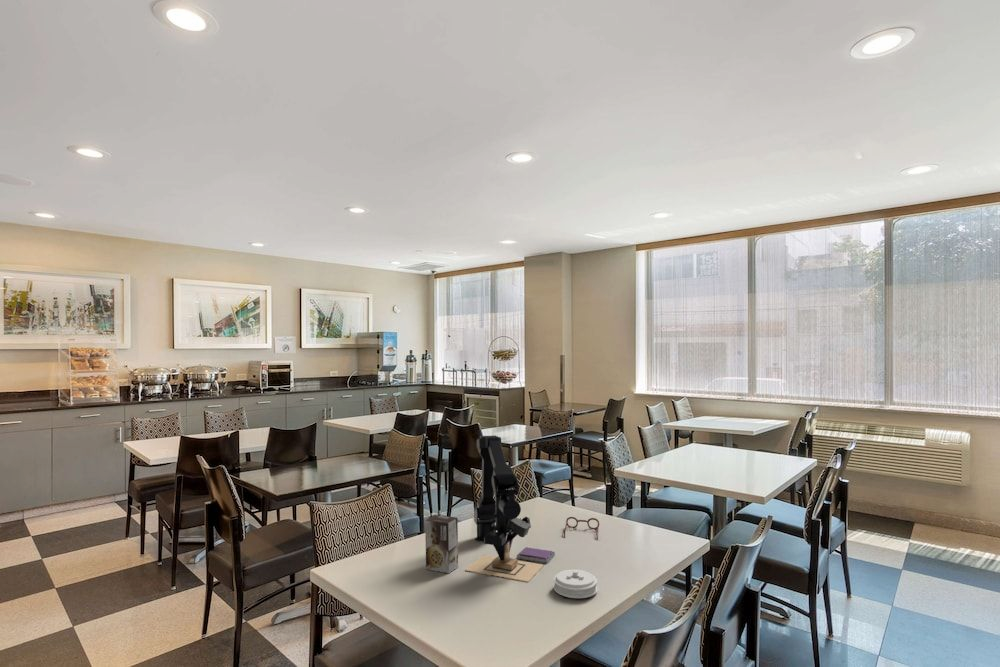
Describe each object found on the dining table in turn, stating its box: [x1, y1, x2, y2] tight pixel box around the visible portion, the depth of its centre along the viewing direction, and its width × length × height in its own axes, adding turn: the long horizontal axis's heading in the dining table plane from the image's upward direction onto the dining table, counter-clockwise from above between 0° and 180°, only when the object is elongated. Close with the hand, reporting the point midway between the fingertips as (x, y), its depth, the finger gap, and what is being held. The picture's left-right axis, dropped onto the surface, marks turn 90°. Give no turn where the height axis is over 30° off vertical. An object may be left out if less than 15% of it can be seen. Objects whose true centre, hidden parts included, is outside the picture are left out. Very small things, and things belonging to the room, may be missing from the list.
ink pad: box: [516, 547, 556, 564], centre depth 183 cm, size 11×8×2 cm
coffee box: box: [424, 514, 459, 574], centre depth 175 cm, size 9×6×16 cm
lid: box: [553, 569, 598, 599], centre depth 157 cm, size 13×13×5 cm
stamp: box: [492, 542, 519, 571], centre depth 174 cm, size 7×5×8 cm
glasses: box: [563, 516, 600, 541], centre depth 207 cm, size 13×13×5 cm
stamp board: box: [464, 554, 545, 583], centre depth 174 cm, size 22×14×1 cm, turn 66°
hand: (504, 558), depth 174 cm, fingers closed on stamp, 3 cm apart
